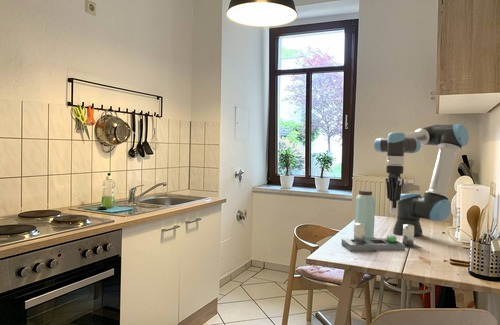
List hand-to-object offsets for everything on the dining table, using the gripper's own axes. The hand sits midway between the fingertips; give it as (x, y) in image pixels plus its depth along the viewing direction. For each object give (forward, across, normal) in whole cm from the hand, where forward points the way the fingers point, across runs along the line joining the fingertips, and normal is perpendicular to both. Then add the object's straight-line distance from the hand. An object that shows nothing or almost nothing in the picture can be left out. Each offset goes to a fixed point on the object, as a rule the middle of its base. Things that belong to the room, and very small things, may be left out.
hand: (392, 214), depth 174 cm
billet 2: (+16, -2, +10) cm, 18 cm away
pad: (+16, -2, +10) cm, 19 cm away
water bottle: (+16, -19, -5) cm, 26 cm away
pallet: (+16, 0, -9) cm, 19 cm away
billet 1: (+15, 0, -16) cm, 22 cm away
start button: (+13, 0, 0) cm, 13 cm away
